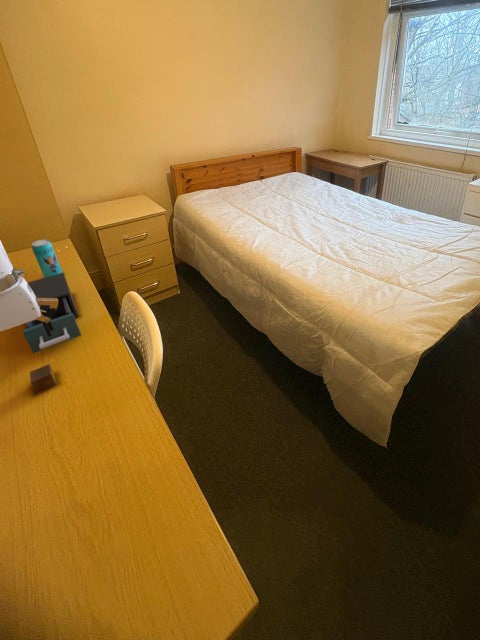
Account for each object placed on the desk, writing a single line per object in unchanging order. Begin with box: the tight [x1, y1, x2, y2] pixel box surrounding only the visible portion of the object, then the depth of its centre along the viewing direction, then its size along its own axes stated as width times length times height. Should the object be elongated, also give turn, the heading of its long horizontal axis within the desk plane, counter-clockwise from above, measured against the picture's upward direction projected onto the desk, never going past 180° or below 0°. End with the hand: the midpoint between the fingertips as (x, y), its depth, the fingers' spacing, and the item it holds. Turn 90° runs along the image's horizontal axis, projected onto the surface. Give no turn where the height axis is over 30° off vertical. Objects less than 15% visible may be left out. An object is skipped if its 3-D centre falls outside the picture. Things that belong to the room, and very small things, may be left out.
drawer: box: [22, 297, 82, 354], centre depth 93 cm, size 18×11×8 cm, turn 39°
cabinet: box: [24, 272, 79, 327], centre depth 102 cm, size 15×13×10 cm
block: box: [29, 363, 57, 394], centre depth 80 cm, size 4×4×4 cm
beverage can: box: [31, 238, 63, 278], centre depth 119 cm, size 6×6×15 cm
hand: (24, 342), depth 74 cm, fingers open, 9 cm apart
